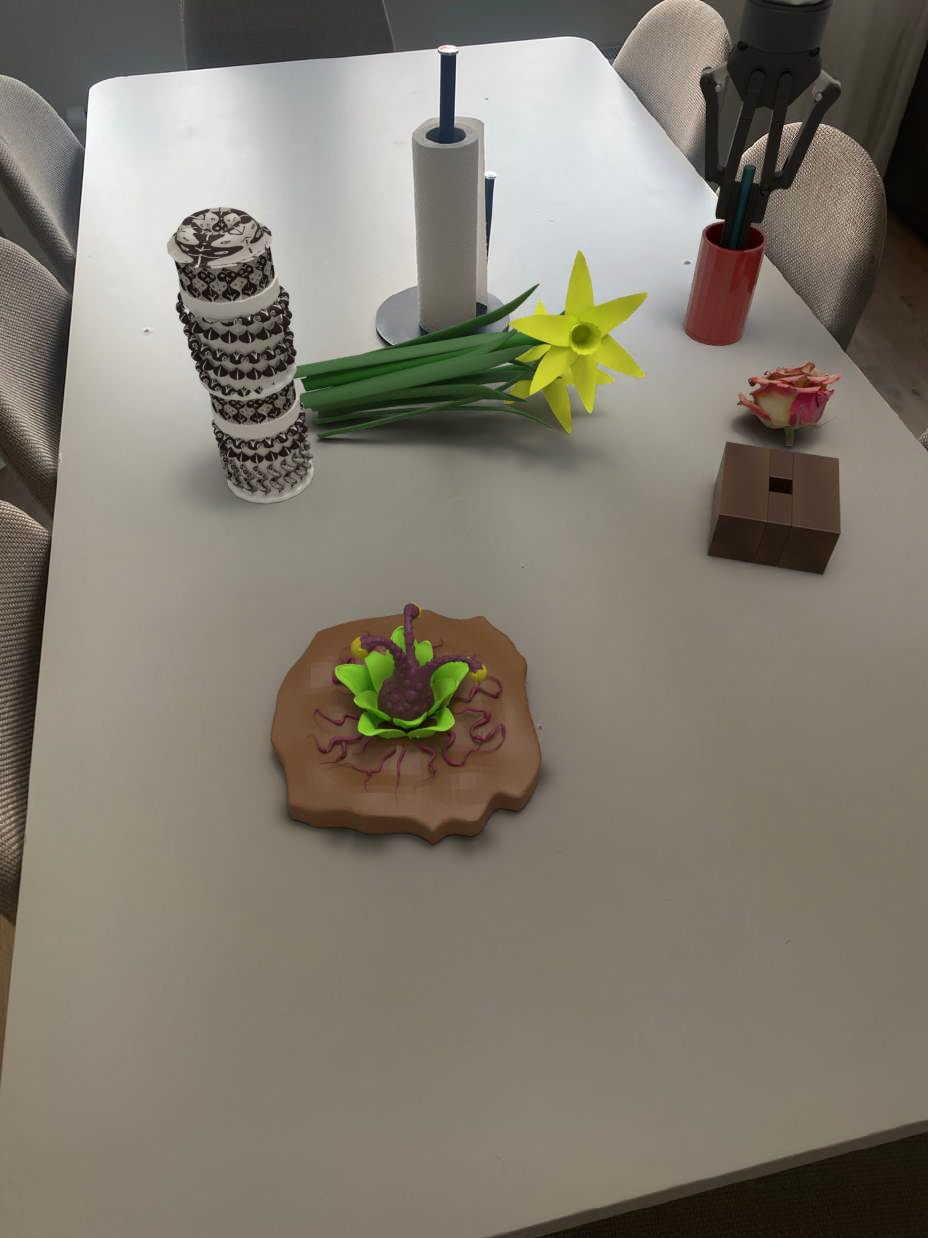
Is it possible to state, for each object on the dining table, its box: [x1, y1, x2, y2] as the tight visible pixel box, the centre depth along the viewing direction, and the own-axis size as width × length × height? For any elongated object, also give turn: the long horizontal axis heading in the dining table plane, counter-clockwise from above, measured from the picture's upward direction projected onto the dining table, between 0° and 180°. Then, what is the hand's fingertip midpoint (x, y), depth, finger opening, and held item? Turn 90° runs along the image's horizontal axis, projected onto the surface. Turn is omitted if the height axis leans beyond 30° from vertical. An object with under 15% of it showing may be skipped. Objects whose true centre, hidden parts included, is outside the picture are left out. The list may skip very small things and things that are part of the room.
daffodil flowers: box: [293, 249, 649, 439], centre depth 88 cm, size 17×15×35 cm
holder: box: [707, 441, 842, 575], centre depth 82 cm, size 10×10×5 cm
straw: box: [727, 164, 757, 251], centre depth 97 cm, size 1×1×16 cm
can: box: [683, 220, 769, 346], centre depth 101 cm, size 7×7×11 cm
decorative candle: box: [166, 206, 315, 505], centre depth 79 cm, size 9×9×25 cm
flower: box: [736, 361, 842, 447], centre depth 90 cm, size 10×9×8 cm
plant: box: [270, 602, 542, 845], centre depth 65 cm, size 20×20×11 cm
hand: (731, 248), depth 97 cm, fingers closed on straw
